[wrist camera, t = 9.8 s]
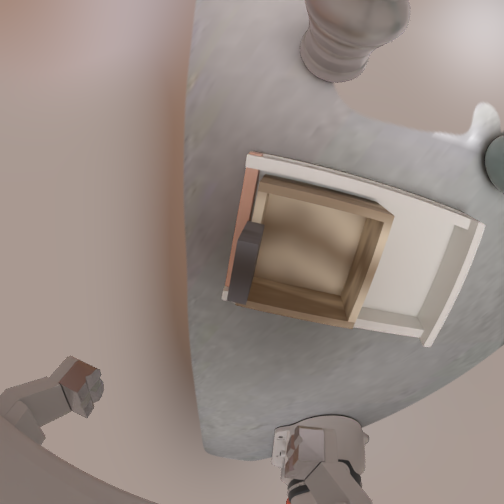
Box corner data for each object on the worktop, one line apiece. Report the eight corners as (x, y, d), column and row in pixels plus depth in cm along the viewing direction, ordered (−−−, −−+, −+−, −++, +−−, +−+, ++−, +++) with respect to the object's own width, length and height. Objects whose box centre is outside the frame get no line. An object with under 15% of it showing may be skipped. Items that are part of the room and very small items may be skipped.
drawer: (343, 299, 33) (360, 361, 23) (241, 277, 34) (220, 335, 24) (376, 201, 29) (416, 233, 18) (262, 173, 29) (246, 190, 19)
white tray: (416, 322, 35) (430, 347, 29) (228, 284, 36) (218, 308, 31) (461, 211, 28) (485, 225, 23) (253, 151, 30) (245, 153, 25)
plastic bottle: (353, 95, 26) (443, 37, 7) (291, 74, 26) (291, -23, 8) (367, 46, 23) (450, -45, 5) (307, 25, 24) (321, -95, 5)
